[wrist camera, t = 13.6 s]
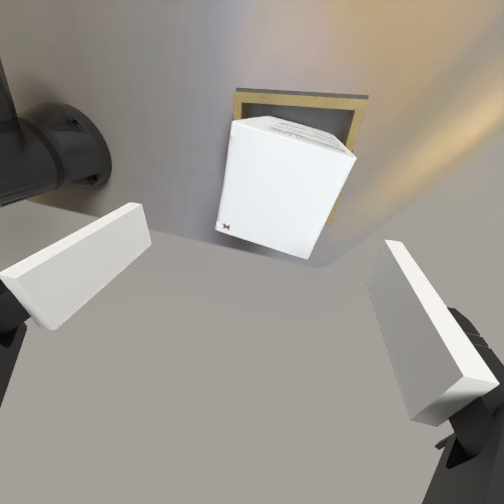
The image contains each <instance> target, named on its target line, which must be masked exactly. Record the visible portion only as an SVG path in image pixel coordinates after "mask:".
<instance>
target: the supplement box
mask: <svg viewBox="0 0 504 504" xmlns="http://www.w3.org/2000/svg"><path fill="white" fill-rule="evenodd" d="M355 161H356V157H355V155H354V154H353V153H351V152H350V151H349V150H348V149H347V148H346V147H345V146H344V145H343V144H342V143H341V142H340V141H339V140H338V139H337V138H336V137H335V136H334V135H333V134H331V133H328V132H325V131H322V130H319V129H316V128H312V127H309V126H305V125H302V124H298V123H295V122H291V121H287V120H284V119H280V118H276V117H273V116H263V117H254V118H248V119H241V120H234V121H232V123H231V131H230V139H229V147H228V155H227V162H226V169H225V176H224V183H223V189H222V195H221V201H220V207H219V212H218V218H217V222H216V226H215V230H217V231H220V232H223V233H226V234H229V235H232V236H235V237H238V238H241V239H244V240H247V241H250V242H254V243H257V244H260V245H263V246H266V247H269V248H272V249H275V250H278V251H281V252H284V253H287V254H290V255H293V256H297V257H300V258H303V259H308V258H309V255H310V253H311V251H312V249H313V247H314V245H315V243H316V241H317V239H318V237H319V235H320V232H321V230H322V228H323V226H324V224H325V222H326V220H327V218H328V216H329V214H330V212H331V210H332V207H333V205H334V203H335V201H336V199H337V197H338V195H339V193H340V191H341V189H342V187H343V185H344V183H345V181H346V179H347V176H348V174H349V172H350V170H351V168H352V166H353V164H354V162H355Z"/></svg>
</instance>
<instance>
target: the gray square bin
mask: <svg viewBox="0 0 504 504" xmlns="http://www.w3.org/2000/svg"><path fill="white" fill-rule="evenodd" d="M367 99H368V95H351V94H334V93H317V92H300V91H283V90H266V89H249V88H236V92H235V91H233V121H234V120H241V119H248V118H254V117H263V116H273V117H276V118H280V119H284V120H287V121H291V122H295V123H298V124H302V125H305V126H309V127H312V128H316V129H319V130H322V131H325V132H328V133H331V134H333V135H334V136H335V137H336V138H337V139H338V140H339V141H340V142H341V143H342V144H343V145H344V146H345V147H346V148H347V149H348V150H349V151H350V152H351V153H353V150H354V146H355V143H356V139H357V136H358V133H359V129H360V126H361V122H362V119H363V116H364V112H365V109H366V105H367V102H368V100H367ZM341 190H342V189H341ZM340 194H341V191H340V193H339V195H338V197H337V199H336V201H335V203H334V205H333V207H332V210H331V212H330V214H329V216H328V218H327V220H326V222H325V224H328V225H331V224H332V221H333V218H334V214H335V211H336V207H337V204H338V201H339V197H340Z"/></svg>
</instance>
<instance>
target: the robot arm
mask: <svg viewBox="0 0 504 504" xmlns="http://www.w3.org/2000/svg"><path fill="white" fill-rule="evenodd" d="M110 171H111V158H110V154H109V150H108V147H107V145H106V142H105V140H104V139H103V137H102V135H101V133H100V132H99V130H98V129H97V128H96V126H95V125H94V124H93V123H92V122H91V120H90V119H89V118H88V117H86V116H85V115H84V114H83V113H82V112H80V111H79V110H77V109H76V108H74V107H72V106H70V105H67V104H63V103H42V104H39V105H37V106H34V107H32V108H30V109H28V110H26V111H23V112H21V113H19V114H16V110H15V107H14V103H13V100H12V96H11V93H10V90H9V86H8V83H7V79H6V76H5V72H4V69H3V66H2V62H1V59H0V208H1V207H3V206H6V205H9V204H12V203H16V202H19V201H22V200H25V199H28V198H31V197H34V196H37V195H40V194H43V193H46V192H49V191H52V190H55V189H58V188H85V189H86V188H92V187H95V186H98V185H100V184H102V183H104V182H105V181H106V180H107V179H108V177H109V175H110ZM151 245H152V244H151V239H150V235H149V231H148V227H147V223H146V219H145V215H144V211H143V206H142V204H138V203H131V202H130V203H128V204H126V205H124V206H122V207H120V208H119V209H117V210H115V211H113V212H111V213H109V214H107V215H106V216H104V217H102V218H100V219H98V220H96V221H95V222H93V223H91V224H89V225H87V226H85V227H83V228H82V229H80V230H78V231H76V232H74V233H72V234H70V235H69V236H67V237H65V238H63V239H61V240H60V241H57V242H56V243H54V244H52V245H50V246H48V247H47V248H44V249H43V250H41V251H39V252H37V253H35V254H33V255H32V256H30V257H28V258H26V259H24V260H22V261H20V262H19V263H17V264H15V265H13V266H11V267H9V268H7V269H6V270H4V271H2V272H0V407H1V404H2V401H3V398H4V395H5V392H6V389H7V386H8V383H9V380H10V378H11V375H12V371H13V369H14V366H15V363H16V360H17V357H18V354H19V351H20V348H21V345H22V342H23V339H24V336H25V333H26V331H27V326H26V324H25V323H24V321H26V320H27V319H28V318H30V317H31V318H32V319H33V320H34V322H35V323H36V324H37V325H38V327H42V328H46V329H50V330H56V329H57V328H58V327H59V326H60V325H61V324H63V323H64V322H65V321H66V320H67V319H68V318H69V317H70V316H72V315H73V314H74V313H75V312H76V311H77V310H78V309H80V308H81V307H82V306H83V305H84V304H85V303H86V302H87V301H89V300H90V299H91V298H92V297H93V296H94V295H95V294H96V293H98V292H99V291H100V290H101V289H102V288H103V287H104V286H106V284H108V283H109V282H110V281H111V280H112V279H113V278H115V276H117V275H118V274H119V273H120V272H121V271H122V270H124V269H125V268H126V267H127V266H128V265H129V264H130V263H131V262H133V261H134V260H135V259H136V258H137V257H138V256H139V255H140V254H142V253H143V252H144V251H145V250H146V249H147V248H148V247H150V246H151ZM365 284H366V287H367V290H368V293H369V296H370V299H371V302H372V305H373V308H374V311H375V314H376V317H377V320H378V323H379V326H380V329H381V332H382V335H383V338H384V341H385V344H386V348H387V351H388V354H389V356H390V360H391V363H392V366H393V368H394V372H395V375H396V378H397V381H398V384H399V387H400V390H401V393H402V396H403V399H404V402H405V405H406V408H407V411H408V414H409V417H410V420H412V421H416V422H420V423H424V424H428V425H432V426H436V427H438V426H439V425H440V424H442V423H443V422H445V421H446V420H448V419H449V421H450V423H451V425H452V428H453V429H454V433H453V434H451V435H450V436H448V437H446V438H445V439H443V440H441V441H440V442H438V443H437V444H436V445H435V447H436V448H437V449H439V450H440V449H441V448H443V447H445V448H444V451H443V453H442V456H441V458H440V460H439V463H438V466H437V468H436V471H435V473H434V475H433V478H432V480H431V483H430V485H429V488H428V490H427V493H426V495H425V498H424V500H423V502H422V504H504V366H503V364H502V363H501V362H500V360H499V359H498V358H497V356H496V355H495V354H494V352H493V351H492V350H491V349H489V348H488V345H487V343H486V342H485V340H484V339H483V338H482V337H480V334H479V333H478V331H477V330H476V329H475V327H474V326H473V325H472V323H471V322H470V321H469V320H468V319H467V318H466V317H464V316H463V315H462V314H461V313H460V312H458V311H457V310H456V309H454V308H448V307H446V306H445V304H444V303H443V302H442V300H441V299H440V297H439V296H438V294H437V293H436V291H435V290H434V289H433V287H432V286H431V284H430V283H429V282H428V280H427V278H426V277H425V275H424V274H423V273H422V271H421V270H420V268H419V267H418V266H417V264H416V263H415V261H414V260H413V258H412V257H411V255H410V254H409V253H408V251H407V250H406V248H405V247H404V245H403V244H402V243H401V242H398V241H390V240H384V242H383V244H382V246H381V248H380V250H379V252H378V254H377V257H376V259H375V261H374V263H373V265H372V267H371V269H370V272H369V274H368V276H367V278H366V280H365Z"/></svg>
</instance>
